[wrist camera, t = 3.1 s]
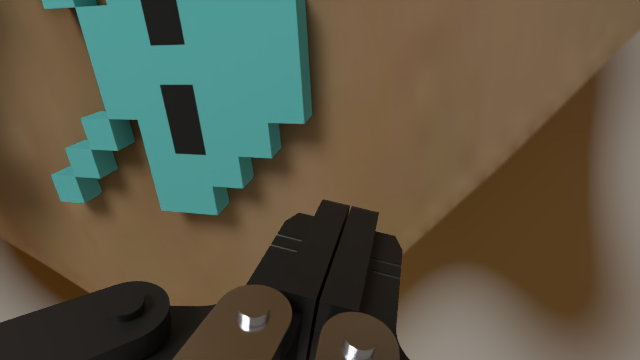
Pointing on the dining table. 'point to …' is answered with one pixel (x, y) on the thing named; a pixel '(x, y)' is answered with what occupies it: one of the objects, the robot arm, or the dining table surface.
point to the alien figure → (189, 93)
